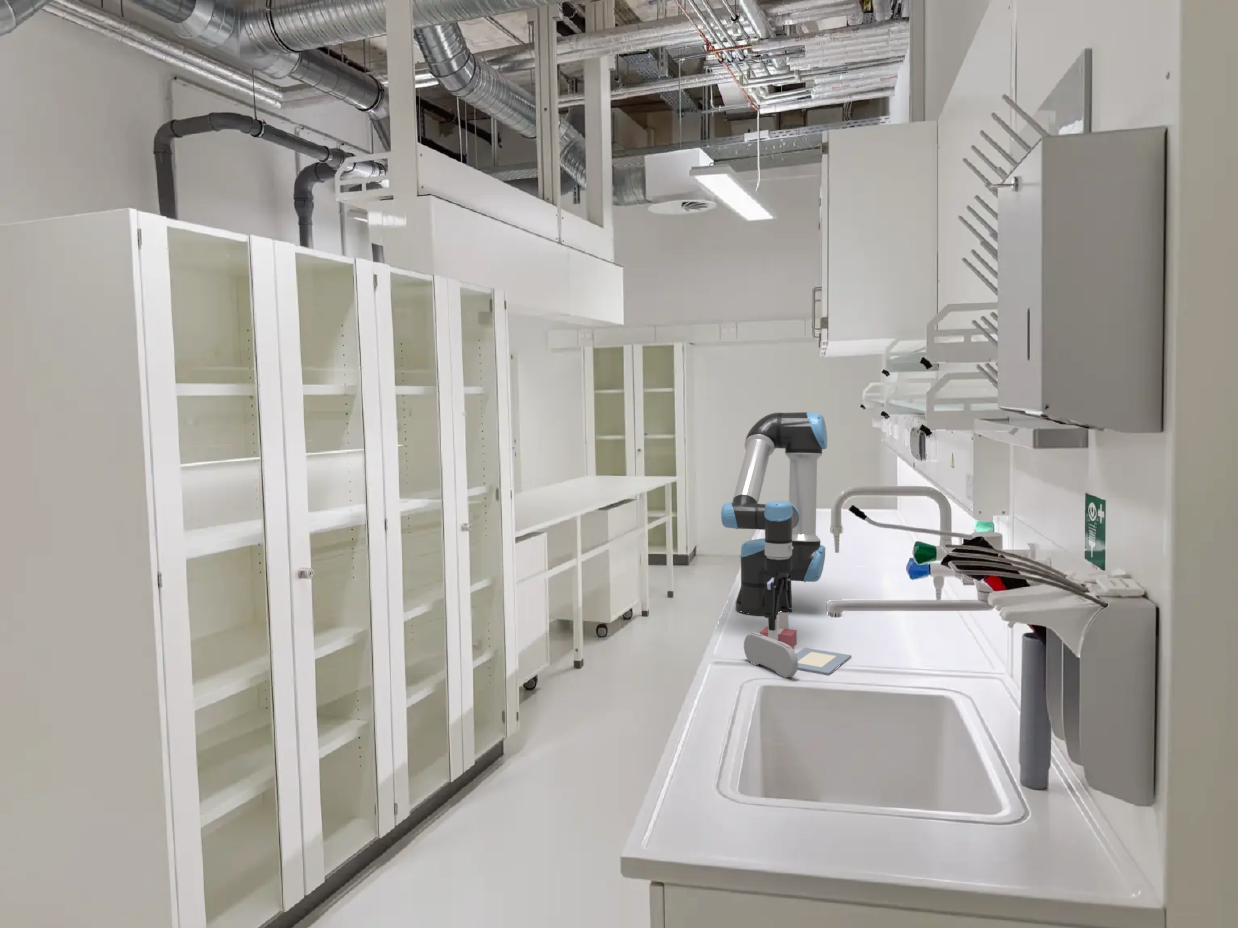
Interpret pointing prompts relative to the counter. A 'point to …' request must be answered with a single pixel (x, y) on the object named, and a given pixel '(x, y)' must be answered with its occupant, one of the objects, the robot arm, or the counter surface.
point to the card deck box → (784, 636)
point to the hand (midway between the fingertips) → (778, 637)
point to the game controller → (771, 654)
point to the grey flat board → (820, 660)
